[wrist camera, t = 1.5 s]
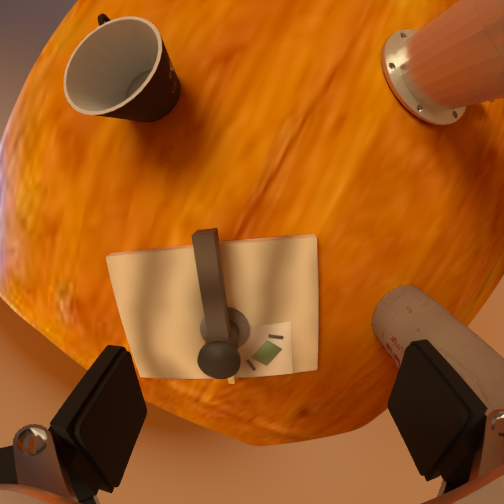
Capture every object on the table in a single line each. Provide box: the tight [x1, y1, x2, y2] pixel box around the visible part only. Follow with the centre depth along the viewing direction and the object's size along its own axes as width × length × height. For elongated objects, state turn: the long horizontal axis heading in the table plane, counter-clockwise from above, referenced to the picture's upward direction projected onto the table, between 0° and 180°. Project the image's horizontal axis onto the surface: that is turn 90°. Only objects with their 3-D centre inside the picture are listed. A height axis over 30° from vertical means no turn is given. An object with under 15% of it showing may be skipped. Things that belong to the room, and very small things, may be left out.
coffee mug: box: [63, 13, 180, 122], centre depth 20 cm, size 12×9×10 cm
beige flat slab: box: [106, 234, 319, 379], centre depth 30 cm, size 22×16×2 cm
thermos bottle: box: [372, 285, 504, 416], centre depth 17 cm, size 8×8×28 cm
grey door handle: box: [192, 228, 241, 384], centre depth 25 cm, size 18×4×5 cm, turn 5°
